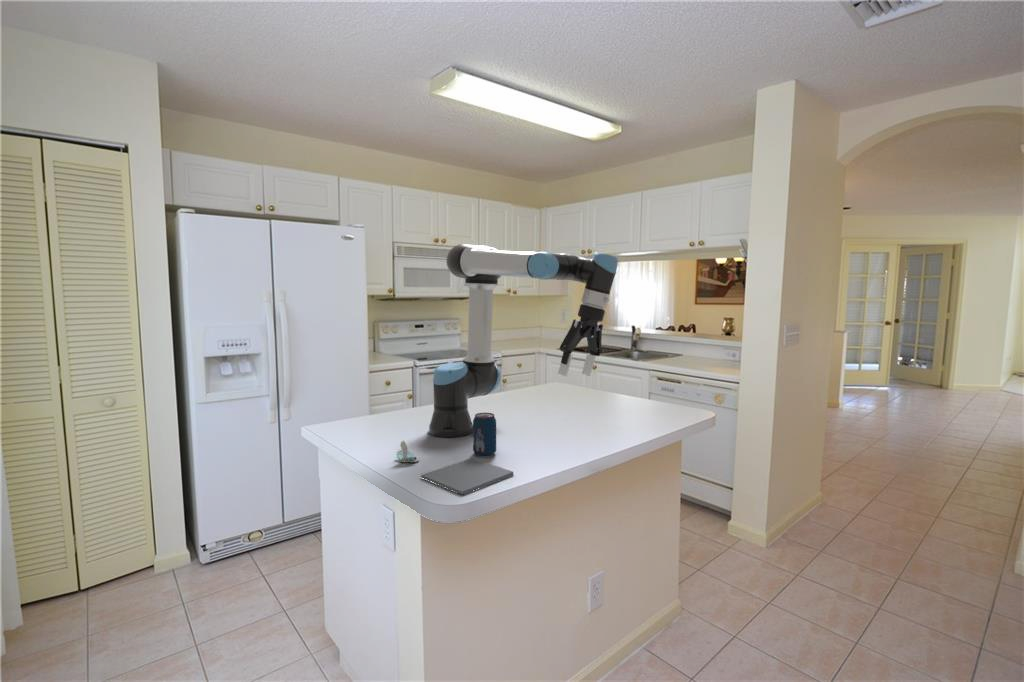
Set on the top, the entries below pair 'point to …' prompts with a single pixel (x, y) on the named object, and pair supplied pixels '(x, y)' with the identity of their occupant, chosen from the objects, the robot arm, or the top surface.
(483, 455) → the soda can
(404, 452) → the pacifier
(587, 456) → the top surface
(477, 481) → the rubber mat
